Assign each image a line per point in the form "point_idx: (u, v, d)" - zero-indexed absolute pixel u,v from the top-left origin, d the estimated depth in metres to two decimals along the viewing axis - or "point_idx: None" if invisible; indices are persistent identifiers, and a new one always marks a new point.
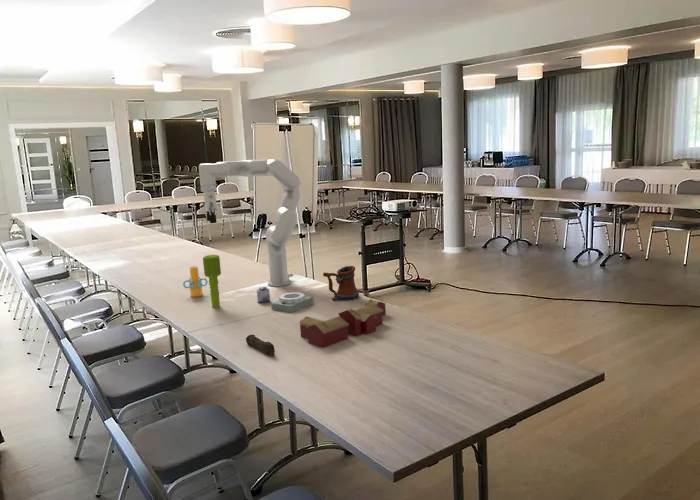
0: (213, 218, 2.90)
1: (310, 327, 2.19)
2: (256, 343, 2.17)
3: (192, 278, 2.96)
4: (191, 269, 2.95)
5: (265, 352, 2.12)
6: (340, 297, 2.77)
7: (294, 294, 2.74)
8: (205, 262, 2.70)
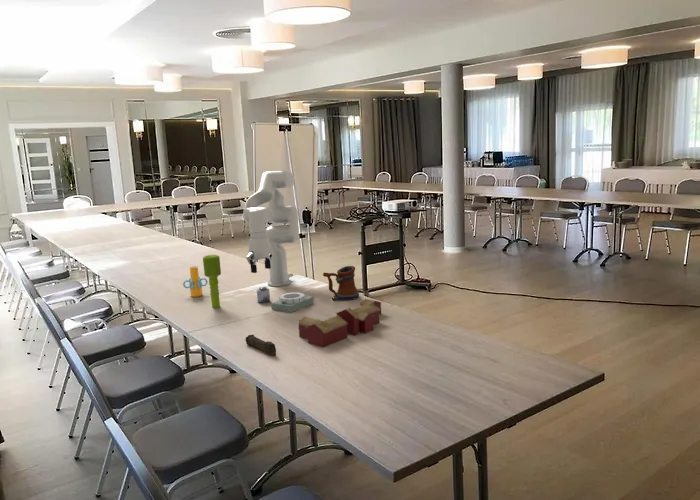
0: None
1: (310, 327, 2.20)
2: (256, 343, 2.17)
3: (192, 278, 2.96)
4: (191, 269, 2.95)
5: (266, 352, 2.13)
6: (340, 297, 2.77)
7: (294, 294, 2.74)
8: (205, 262, 2.70)
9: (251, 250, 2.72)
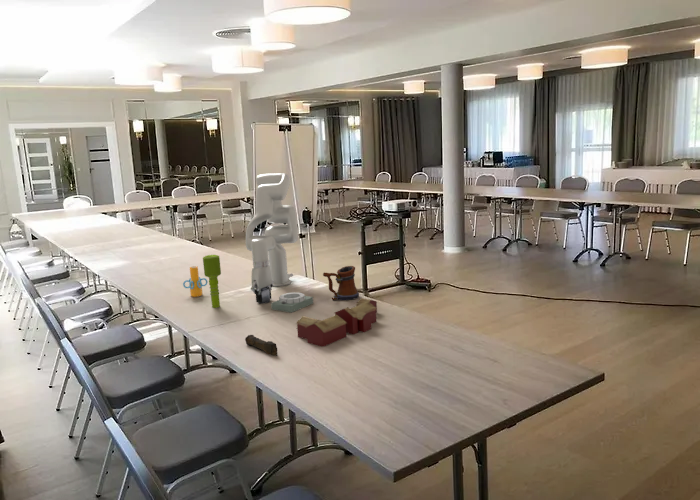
0: None
1: (309, 327, 2.20)
2: (257, 343, 2.17)
3: (192, 278, 2.96)
4: (191, 269, 2.95)
5: (267, 351, 2.13)
6: (340, 297, 2.77)
7: (294, 294, 2.74)
8: (205, 262, 2.70)
9: (254, 279, 2.75)
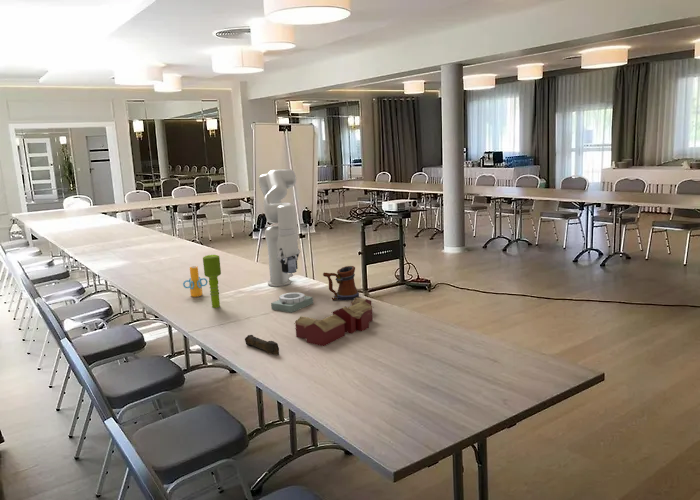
0: None
1: (309, 326, 2.20)
2: (257, 343, 2.17)
3: (192, 278, 2.96)
4: (191, 269, 2.95)
5: (268, 351, 2.13)
6: (340, 297, 2.77)
7: (294, 294, 2.74)
8: (205, 262, 2.70)
9: (280, 247, 2.62)
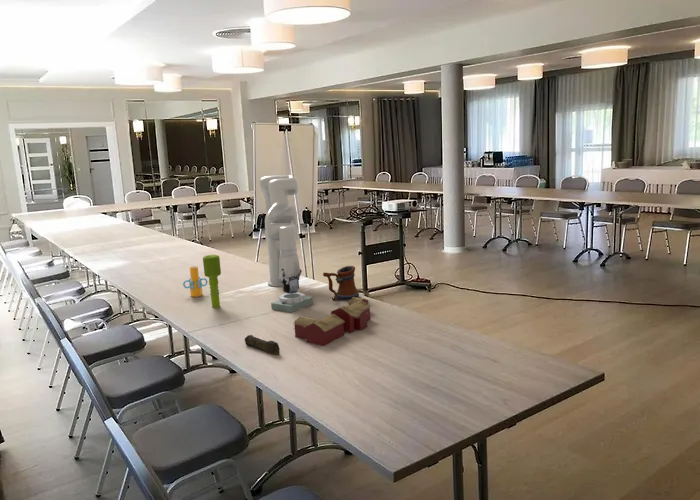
0: None
1: (308, 326, 2.21)
2: (257, 343, 2.17)
3: (192, 278, 2.96)
4: (191, 269, 2.95)
5: (269, 351, 2.13)
6: (340, 297, 2.77)
7: (294, 294, 2.74)
8: (205, 262, 2.70)
9: (282, 268, 2.64)
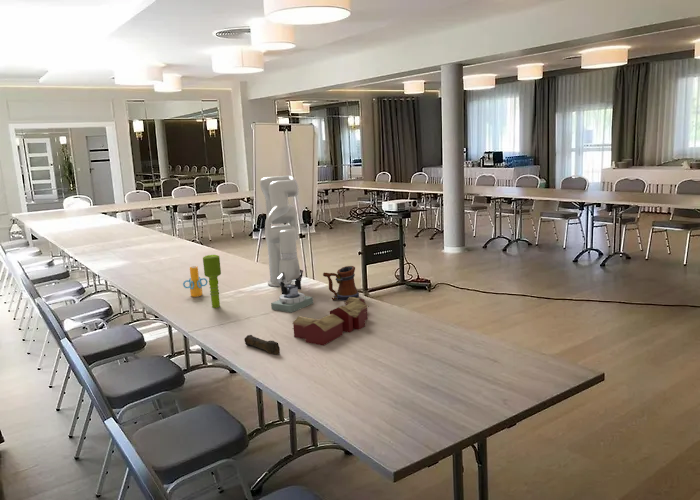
0: None
1: (308, 326, 2.21)
2: (257, 343, 2.17)
3: (192, 278, 2.96)
4: (191, 269, 2.95)
5: (269, 351, 2.13)
6: (340, 297, 2.77)
7: None
8: (205, 262, 2.70)
9: (282, 271, 2.64)
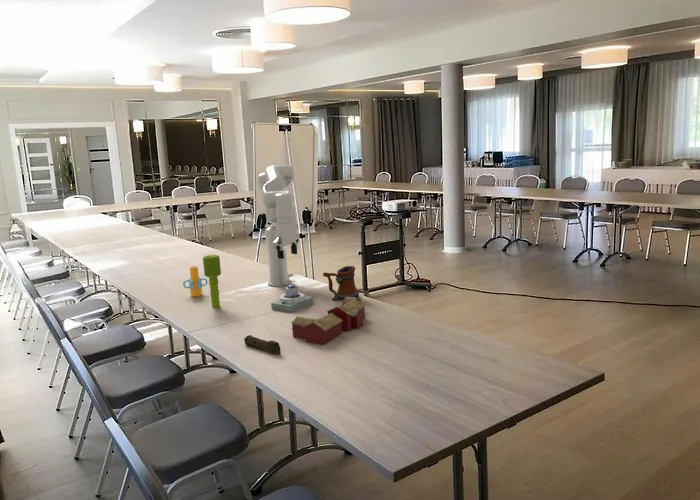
0: None
1: (308, 326, 2.21)
2: (258, 343, 2.17)
3: (192, 278, 2.96)
4: (191, 269, 2.95)
5: (270, 351, 2.13)
6: (340, 297, 2.77)
7: None
8: (205, 262, 2.70)
9: (278, 235, 2.64)
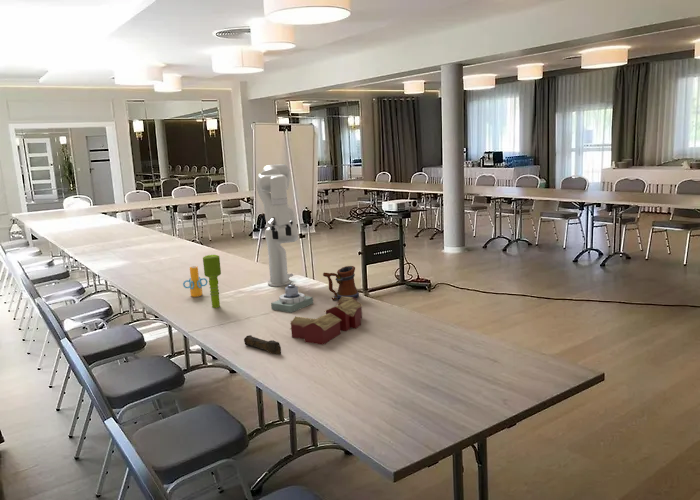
0: None
1: (307, 326, 2.21)
2: (258, 343, 2.17)
3: (192, 278, 2.96)
4: (191, 269, 2.95)
5: (270, 351, 2.13)
6: (340, 297, 2.77)
7: None
8: (205, 262, 2.70)
9: (273, 216, 2.74)
